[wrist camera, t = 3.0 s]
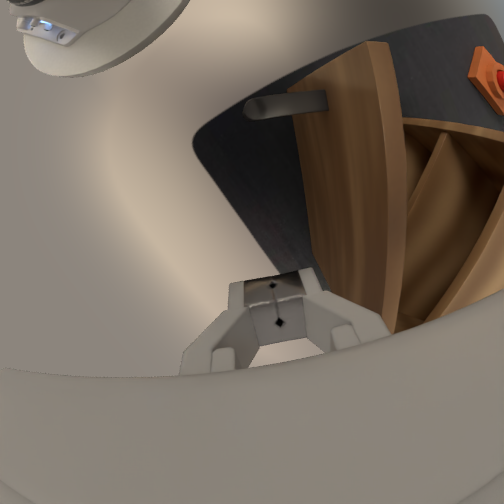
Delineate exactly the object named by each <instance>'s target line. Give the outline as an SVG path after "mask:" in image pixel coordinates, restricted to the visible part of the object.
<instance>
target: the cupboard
mask: <svg viewBox="0 0 504 504" xmlns="http://www.w3.org/2000/svg"><path fill="white" fill-rule="evenodd" d="M402 120H403V129H404V139H405V152H406V169H407V227H406V245H405V258H404V269H403V278H402V286H401V294H400V301H399V307H398V313H397V319H396V325H395V330H394V334H395V333H398V332H401V331H404V330H407V329H410V328H413V327H416V326H419V325H421V324H424V323H427V322H429V321H432V320H435V319H437V318H440V317H442V316H445V315H447V314H449V313H452V312H454V311H457V310H459V309H461V308H464V307H466V306H468V305H470V304H472V303H475V302H477V301H479V300H481V299H483V298H485V297H487V296H489V295H491V294H493V293H495V292H497V291H499V290H501V289H503V288H504V132H501V131H497V130H492V129H487V128H483V127H477V126H472V125H466V124H460V123H453V122H446V121H438V120H429V119H419V118H406V117H402Z"/></svg>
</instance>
